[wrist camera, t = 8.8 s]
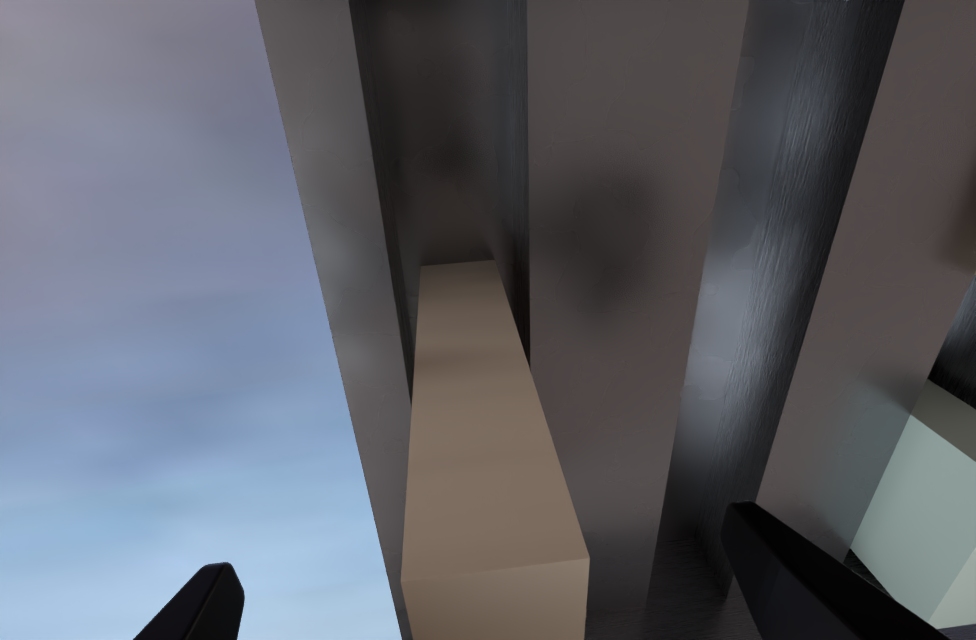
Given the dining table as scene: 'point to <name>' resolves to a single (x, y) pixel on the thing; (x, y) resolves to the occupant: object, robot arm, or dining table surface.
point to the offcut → (927, 514)
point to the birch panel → (484, 477)
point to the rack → (652, 252)
